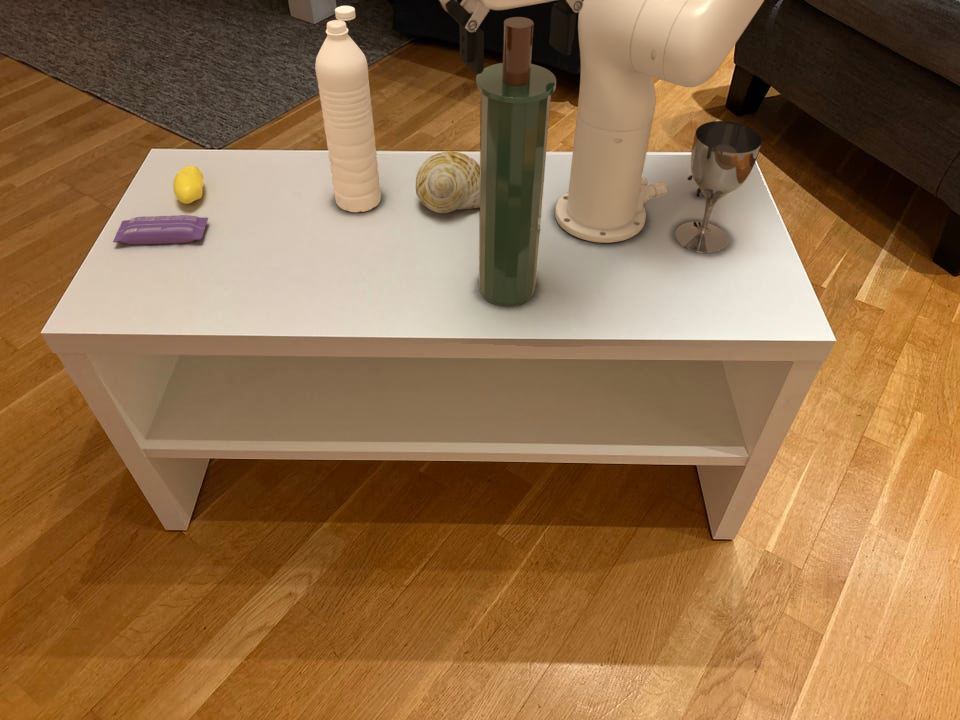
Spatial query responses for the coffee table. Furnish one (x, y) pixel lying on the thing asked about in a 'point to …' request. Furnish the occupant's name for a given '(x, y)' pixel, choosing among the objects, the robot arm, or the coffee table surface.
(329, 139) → the water bottle
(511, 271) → the green cylindrical vase
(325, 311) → the coffee table surface
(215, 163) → the coffee table surface
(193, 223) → the snack package
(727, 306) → the coffee table surface
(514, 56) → the lid
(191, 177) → the lemon
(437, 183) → the seashell
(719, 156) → the wine glass
